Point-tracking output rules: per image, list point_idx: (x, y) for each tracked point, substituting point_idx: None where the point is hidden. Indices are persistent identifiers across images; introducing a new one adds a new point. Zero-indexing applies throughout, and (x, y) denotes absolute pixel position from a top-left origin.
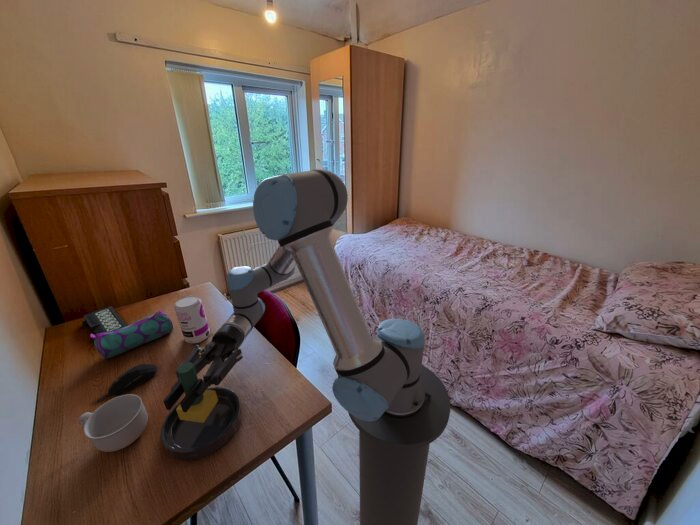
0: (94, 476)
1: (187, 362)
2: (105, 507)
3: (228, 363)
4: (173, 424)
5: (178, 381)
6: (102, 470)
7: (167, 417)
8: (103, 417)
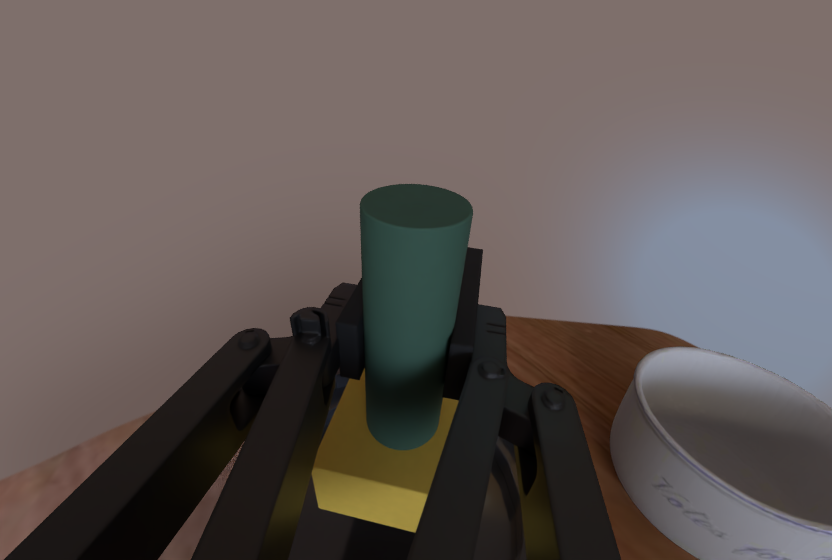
0: (627, 382)
1: (424, 229)
2: (533, 330)
3: (107, 466)
4: (514, 483)
5: (496, 348)
6: (624, 393)
7: None
8: (826, 481)
